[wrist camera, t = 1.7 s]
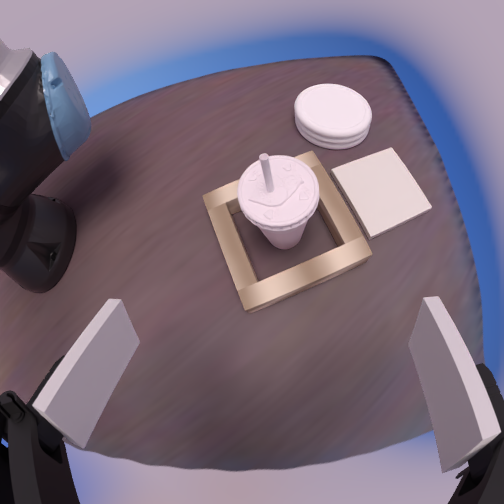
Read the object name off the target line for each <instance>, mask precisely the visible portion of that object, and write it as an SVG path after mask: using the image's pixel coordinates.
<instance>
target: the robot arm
mask: <svg viewBox="0 0 504 504" xmlns="http://www.w3.org/2000/svg"><path fill="white" fill-rule="evenodd" d="M90 132H91V120H90V117H89V113H88V111H87V108H86V105H85V103H84V101H83V98H82V96H81V94H80V92H79V90H78V87H77V85H76V83H75V81H74V79H73V77H72V76H71V74H70V72H69V70H68V69H67V67H66V65H65V63H64V62H63V61H62V59H61V58H60V57H59V56H58V54H57V53H55V52H50V53H48V54H45V55H44V56H42V58H41V59H40V58H38V57H37V56H36V54H35V53H34V52H33V51H32V50H31V49H30V48H27V49H18V50H11V49H9V48H8V47H7V46H6V45H5V44H4V43H3V41H2V40H1V39H0V269H1V270H3V271H4V272H5V273H6V274H7V275H8V276H9V277H11V278H12V279H13V280H14V281H16V282H17V283H18V284H19V285H20V286H21V287H22V288H24V289H26V290H29V291H33V292H36V293H43V292H46V291H48V290H49V289H51V288H52V287H53V286H54V285H55V284H56V283H57V282H58V281H59V279H60V278H61V277H62V275H63V273H64V272H65V270H66V268H67V266H68V263H69V261H70V258H71V255H72V252H73V248H74V244H75V237H76V222H75V217H74V214H73V212H72V210H71V208H70V207H69V206H68V205H66V204H65V203H63V202H62V201H60V200H59V199H56V198H53V197H45V196H41V195H36V194H31V193H32V192H33V191H34V190H35V189H36V188H37V187H38V186H39V185H40V184H41V183H42V182H43V181H44V180H45V179H46V178H47V177H48V176H49V175H50V174H51V173H52V172H53V171H54V170H55V169H56V168H57V167H58V166H59V165H60V164H61V163H62V162H63V161H64V160H65V161H67V160H68V159H69V158H70V155H71V154H72V153H73V152H74V151H76V150H77V149H78V148H79V147H80V146H81V145H82V144H83V143H84V142H85V141H86V140H87V139H88V137H89V135H90ZM139 343H140V341H139V339H138V337H137V334H136V332H135V330H134V328H133V326H132V323H131V321H130V319H129V316H128V314H127V312H126V309H125V307H124V305H123V302H122V300H120V299H108V301H107V302H106V303H105V304H104V306H103V307H102V308H101V309H100V311H99V312H98V313H97V314H96V316H95V317H94V318H93V320H92V321H91V322H90V323H89V325H88V326H87V327H86V329H85V330H84V331H83V333H82V334H81V335H80V337H79V338H78V339H77V341H76V342H75V343H74V345H73V346H72V347H71V349H70V350H69V352H68V353H67V354H66V356H63V357H61V358H60V359H59V360H58V361H56V362H55V364H54V365H53V366H52V368H51V369H50V372H49V373H48V374H47V375H46V377H45V379H43V381H42V382H41V384H40V385H39V387H38V388H37V390H36V391H35V393H34V394H33V396H32V398H31V399H30V401H29V402H28V403H27V404H25V403H24V402H23V401H22V400H21V399H20V398H19V397H18V396H17V395H16V393H15V392H13V391H6V392H4V393H2V394H1V395H0V504H80V502H79V499H78V496H77V493H76V489H75V486H74V482H73V479H72V475H71V470H70V466H69V462H68V458H67V453H66V448H65V444H64V441H63V440H62V438H63V436H64V437H65V438H66V439H67V440H69V441H70V442H71V443H73V444H75V445H77V446H79V447H81V448H83V449H84V448H85V446H86V444H87V442H88V440H89V438H90V436H91V434H92V432H93V430H94V427H95V425H96V423H97V421H98V420H99V418H100V416H101V414H102V412H103V410H104V408H105V406H106V404H107V402H108V400H109V398H110V396H111V394H112V392H113V391H114V389H115V387H116V385H117V383H118V381H119V379H120V378H121V376H122V374H123V372H124V370H125V368H126V367H127V365H128V363H129V361H130V359H131V358H132V356H133V354H134V352H135V350H136V349H137V347H138V345H139ZM408 346H409V349H410V352H411V354H412V357H413V360H414V363H415V366H416V369H417V373H418V376H419V379H420V382H421V385H422V389H423V392H424V396H425V399H426V403H427V406H428V410H429V414H430V418H431V422H432V426H433V430H434V434H435V438H436V443H437V448H438V453H439V458H440V463H441V468H442V473H444V472H447V471H450V470H453V469H456V468H459V467H460V466H462V465H463V464H464V463H466V462H467V461H468V464H469V467H467V468H466V469H464V470H463V471H461V472H460V473H459V474H458V475H457V476H456V478H457V479H458V478H459V477H461V476H462V475H463V477H462V479H461V481H460V483H459V485H458V486H457V488H456V490H455V492H454V494H453V496H452V497H451V499H450V501H449V502H448V504H504V400H503V397H502V395H501V394H500V390H499V388H498V386H497V385H496V381H495V379H494V377H493V374H492V372H491V371H490V370H489V369H488V368H487V367H486V366H485V365H484V364H483V363H482V364H478V365H475V364H474V362H473V360H472V357H471V355H470V353H469V351H468V349H467V347H466V345H465V343H464V341H463V339H462V338H461V336H460V334H459V332H458V330H457V328H456V326H455V324H454V323H453V321H452V319H451V317H450V315H449V314H448V312H447V310H446V309H445V307H444V305H443V303H442V302H441V300H440V298H439V297H438V296H436V297H425V298H423V300H422V304H421V307H420V310H419V314H418V317H417V320H416V323H415V326H414V329H413V332H412V335H411V338H410V341H409V343H408ZM2 438H3V439H4V440H5V441H6V442H8V448H7V447H5V446H4V445H3V444H2V443H1V440H2Z"/></svg>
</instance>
